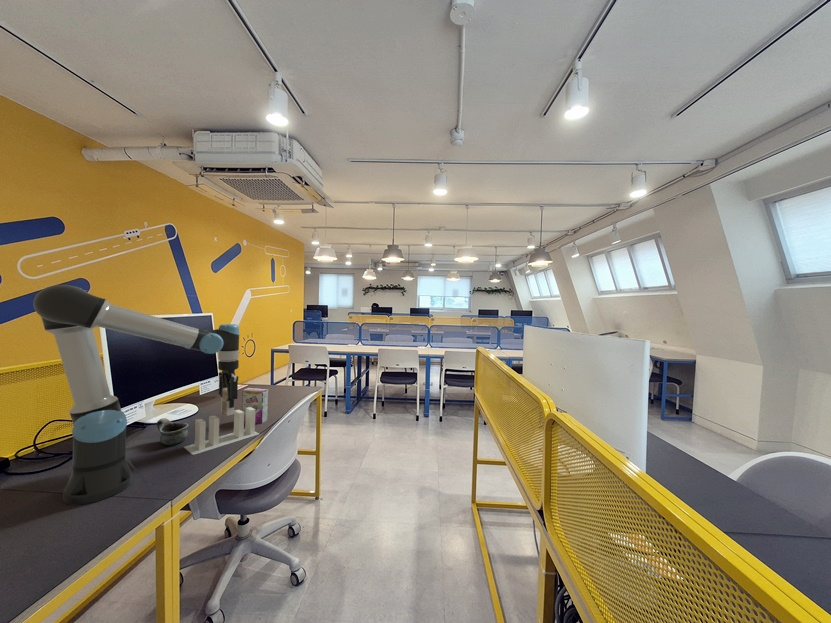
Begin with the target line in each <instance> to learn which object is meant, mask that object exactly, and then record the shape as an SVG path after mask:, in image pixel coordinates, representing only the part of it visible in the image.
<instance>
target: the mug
mask: <svg viewBox="0 0 831 623" xmlns="http://www.w3.org/2000/svg"><path fill="white" fill-rule="evenodd" d="M188 427H189V424H188V423H187V422H185V423H184V422H175V421H174V422H173V421H170V419H168V418H167V417H162V418H160V419H158V420H157V422H156V428H157V429H158V431H159V432H160V435H159V440H160V443H161V444H163V445H165V446H173V445H178V444H180V443H182V442H183V441H185V440H186V439H187V437H188V434H189V433H188V432H189V431H188Z"/></svg>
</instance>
